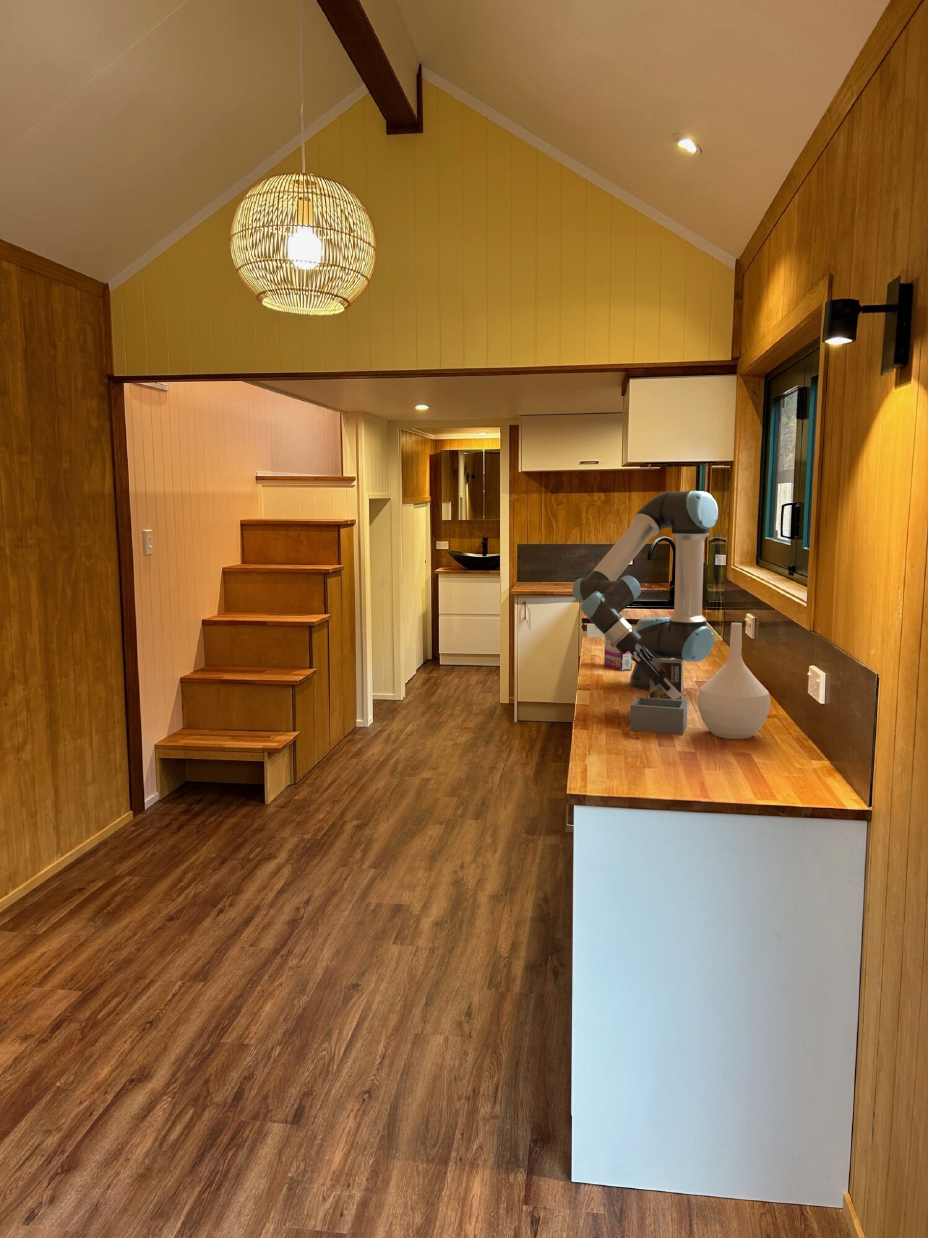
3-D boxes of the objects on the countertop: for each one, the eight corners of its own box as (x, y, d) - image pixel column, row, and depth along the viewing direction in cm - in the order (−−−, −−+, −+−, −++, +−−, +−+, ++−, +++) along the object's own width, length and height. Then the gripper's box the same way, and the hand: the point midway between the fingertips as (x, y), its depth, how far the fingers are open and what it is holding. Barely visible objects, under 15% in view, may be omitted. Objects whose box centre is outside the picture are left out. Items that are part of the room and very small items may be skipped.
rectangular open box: (636, 721, 241) (636, 696, 240) (686, 725, 237) (687, 700, 236) (630, 730, 231) (630, 705, 230) (682, 735, 226) (683, 709, 226)
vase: (745, 724, 238) (749, 617, 234) (783, 742, 220) (788, 627, 216) (684, 728, 234) (687, 619, 230) (717, 746, 216) (722, 629, 212)
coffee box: (682, 713, 250) (684, 658, 248) (680, 718, 244) (682, 662, 242) (651, 710, 253) (652, 657, 251) (648, 715, 247) (649, 660, 245)
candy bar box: (632, 670, 316) (633, 626, 314) (621, 671, 314) (622, 627, 312) (614, 665, 326) (615, 622, 324) (603, 666, 324) (604, 623, 322)
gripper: (620, 640, 260) (673, 696, 257) (608, 650, 242) (665, 711, 239) (638, 623, 258) (691, 680, 255) (627, 632, 240) (685, 694, 236)
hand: (679, 695), depth 247 cm, fingers closed on coffee box, 6 cm apart
